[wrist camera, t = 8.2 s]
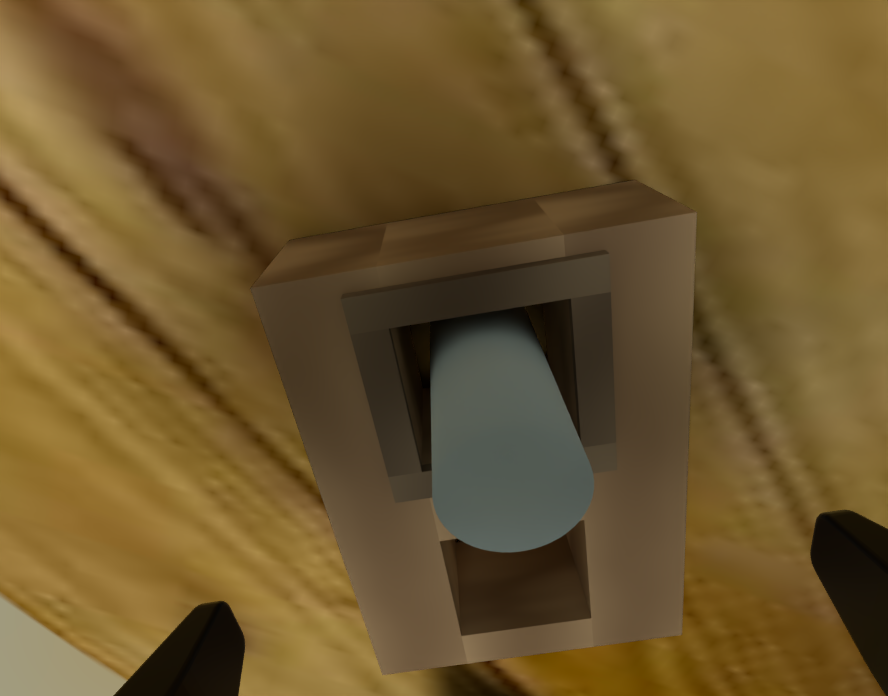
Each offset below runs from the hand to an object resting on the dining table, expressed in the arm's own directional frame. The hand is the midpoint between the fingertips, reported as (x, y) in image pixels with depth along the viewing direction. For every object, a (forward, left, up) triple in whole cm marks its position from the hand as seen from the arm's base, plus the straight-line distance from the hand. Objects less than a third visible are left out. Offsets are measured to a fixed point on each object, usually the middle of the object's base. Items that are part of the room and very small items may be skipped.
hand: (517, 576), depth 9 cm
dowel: (0, 0, -10) cm, 10 cm away
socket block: (0, +4, -10) cm, 11 cm away
